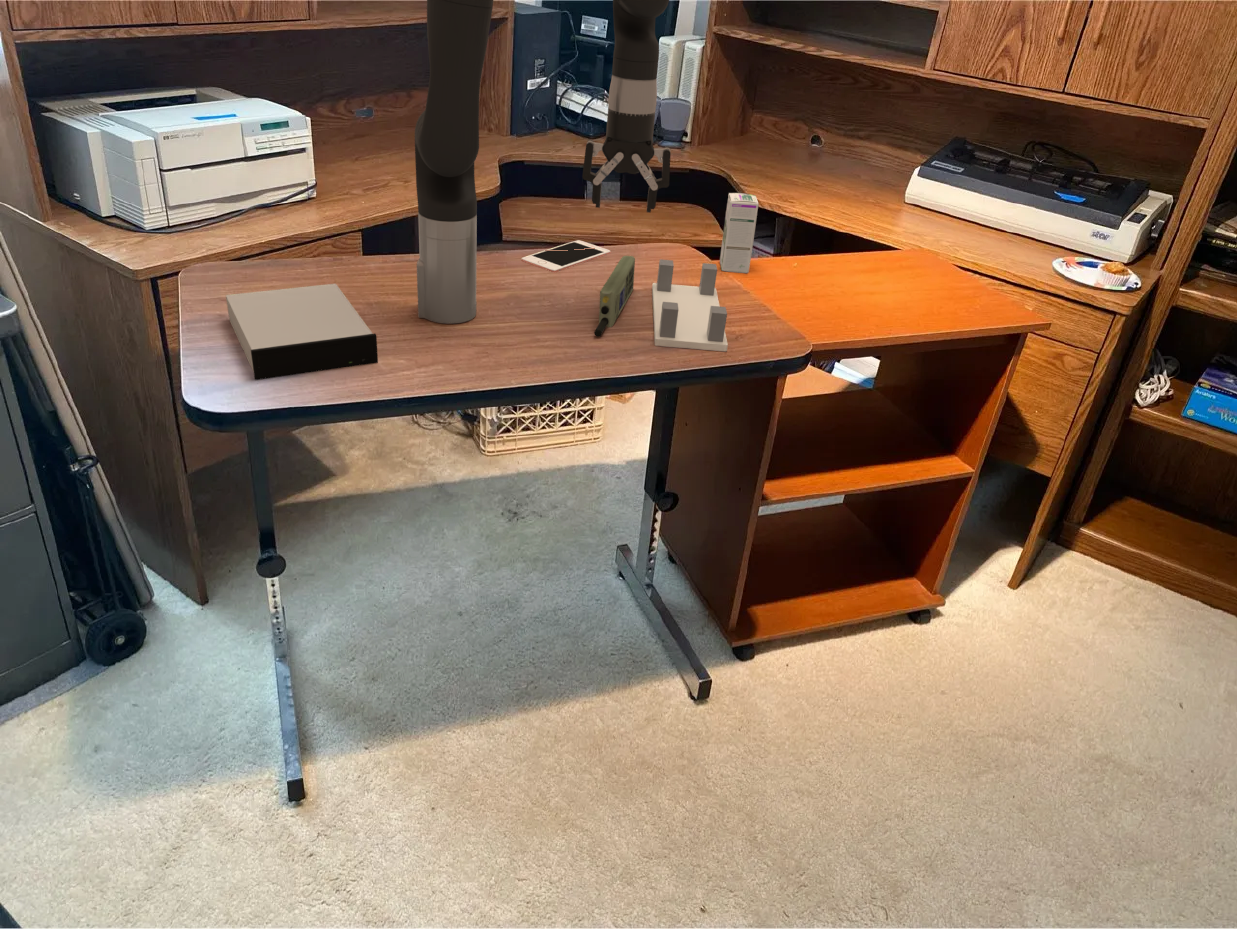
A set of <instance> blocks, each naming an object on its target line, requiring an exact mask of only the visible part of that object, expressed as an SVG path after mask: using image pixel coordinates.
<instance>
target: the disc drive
mask: <svg viewBox="0 0 1237 929" xmlns="http://www.w3.org/2000/svg"><path fill="white" fill-rule="evenodd" d="M225 300H226V306H227V314H228V320H229V322H230V324H231V327H232V329H233V331H234V333H235V335H236V338H237V340H238V342H239V344H240V346H241V348H242V350H244V351H243V353H244V356H245V357H246V359H247V361H248V363H249V365H250V368H251V370H252V372H253V375H254V376H253V377H254V380H255V381H258V380H265V379H273V378H280V377H286V376H294V375H300V374H301V375H303V374H308V373H314V372H315V373H317V372H321V371H329V370H336V369H344V368H350V367H351V368H352V367H356V366H363V365H364V366H366V365H370V364H371V365H372V364H378V363H379V357H378V354H379V353H378V340H377V334H376V333H373V332H372V330H371V329H370V328H369V327H368V326H367V324H366V323H365V321H364V320H363V318H362V317H361V315H360V314H359V313H358V312H357V310H356V309H355V307H354V306H353V304H351V302H350V300H349V299H348V297H346V296H345V294H344V293H343V291H342V290H341V289H340V287H339V286H338V284H337V283H328V284H320V285H318V284H317V285H310V286H309V285H308V286H299V287H289V288H281V289H271V290H269V289H268V290H264V291H263V290H262V291H261V290H260V291H254V292H253V291H251V292H243V293H242V292H241V293H235V294H225Z"/></svg>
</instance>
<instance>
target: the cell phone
mask: <svg viewBox="0 0 1237 929" xmlns="http://www.w3.org/2000/svg"><path fill="white" fill-rule="evenodd" d="M584 248H595V249H585V250H574V249H584ZM547 250H568V251H545V250H542V251H539V252H535V253H533V254H529V255H527V256H523V257H521V262H523V261H525V262H524V263H526V262H528V263H530V264H529V265H531V264H533V265H532V266H534V265H536V266H535V267H537V266H538V267H537V268H539V267H541V268H540V269H542V268H544V269H543V270H545V269H547V270H546V271H548V270H549V271H548V272H550V271H551V273H557V272H561V271H565V270H566V268H567V269H570V268H572V267H571V266H573V267H575V266H574V265H576V264H579V263H582V262H584V263H586V262H585V261H587V262H589V261H588V260H590V259H593V260H596V259H598V258H597V257H599V258H601V257H600V256H602V257H604V256H603V255H605V256H607V254H608V255H610V254H611V250H609V249H607V248H604V247H601V246H598V245H595V244H593V243H590V242H586V241H583V240H579V239H577V240H574V241H571V242H570V241H569V242H567V243H564V244H561V245H558V246H555V247H552V248H548V249H547ZM609 253H610V254H609ZM595 258H596V259H595ZM590 261H591V260H590ZM528 263H527V264H528ZM582 264H583V263H582ZM579 265H580V264H579ZM576 266H577V265H576ZM569 267H570V268H569Z"/></svg>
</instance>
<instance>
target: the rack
mask: <svg viewBox="0 0 1237 929" xmlns="http://www.w3.org/2000/svg"><path fill="white" fill-rule="evenodd" d="M674 266H675V264H674V260H670V259H663V258H662V259H661V258H659V262H658V270H657V271H658V272H657V279H656V280H657V281H656V282H652V286H651V296H652V297H651V298H652V314H653V315H652V316H653V317H652V318H653V332H654V334H653V335H654V336H653V338H654V340H653V341H654V346H655V347H667V348H677V349H678V348H680V349H692V350H702V351H703V350H704V351H716V352H727V351H728V345H729V344H728V340H727V335H726V324H727V318H728V312H727V306H721V305H720V302H719V298H718V297H719V296H718V292H717V288H716V282H717V274H718V266H717V264H716V263H706V262H705V263H704V262H703V263H702V266H701V271H700V272H701V273H700V280H699V286H696V285H695V286H693V285H686V284H685V285H683V284H682V285H681V284H673V282H672V281H673V275H674Z"/></svg>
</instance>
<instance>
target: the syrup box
mask: <svg viewBox="0 0 1237 929" xmlns="http://www.w3.org/2000/svg"><path fill="white" fill-rule="evenodd" d="M727 196H728V198H727V203H726V210H725V217H724V225H723V233H722V241H721V249H720V256H719V265H720V269H721V271H723V272H729V273H738V274H739V273H740V274H749V272H750V266H751V258H752V251H753V246H754V239H755V233H756V224H757V218H758V217H757V216H758V209H759V201H758V198H757V195H755V194H750V193H741V192H728V195H727Z"/></svg>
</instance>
